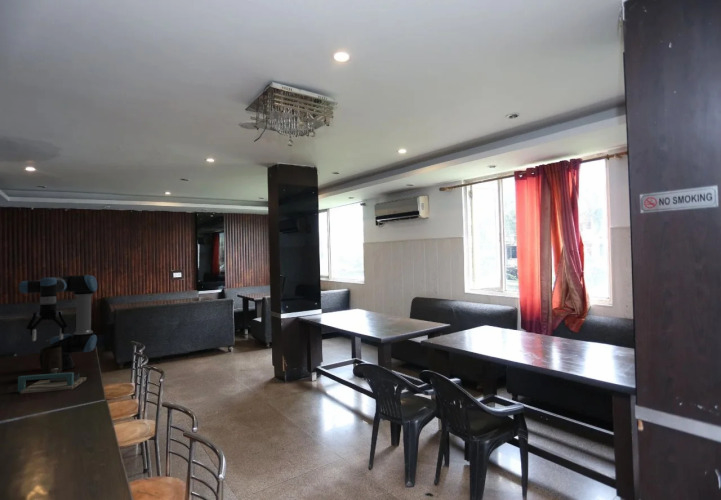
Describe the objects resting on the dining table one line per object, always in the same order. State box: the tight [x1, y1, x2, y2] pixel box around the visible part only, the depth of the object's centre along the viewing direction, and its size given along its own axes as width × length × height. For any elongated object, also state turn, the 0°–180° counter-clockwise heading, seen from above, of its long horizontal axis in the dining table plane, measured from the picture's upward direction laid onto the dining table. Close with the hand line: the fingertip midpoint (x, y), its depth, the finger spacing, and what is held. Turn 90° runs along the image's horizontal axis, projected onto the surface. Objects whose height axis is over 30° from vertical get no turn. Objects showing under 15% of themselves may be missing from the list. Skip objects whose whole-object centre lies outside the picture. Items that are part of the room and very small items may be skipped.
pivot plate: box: [19, 368, 87, 395], centre depth 234 cm, size 20×25×9 cm
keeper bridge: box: [17, 371, 75, 393], centre depth 228 cm, size 2×26×8 cm, turn 105°
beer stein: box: [38, 346, 63, 381], centre depth 252 cm, size 15×11×20 cm
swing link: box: [50, 373, 81, 382], centre depth 238 cm, size 15×4×3 cm, turn 105°
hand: (47, 340), depth 231 cm, fingers open, 13 cm apart
